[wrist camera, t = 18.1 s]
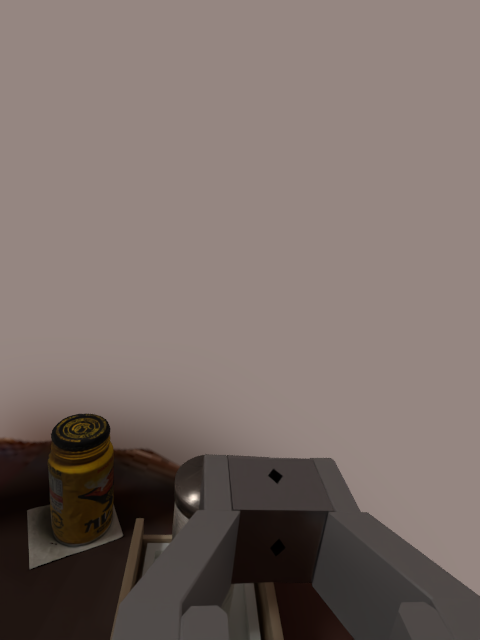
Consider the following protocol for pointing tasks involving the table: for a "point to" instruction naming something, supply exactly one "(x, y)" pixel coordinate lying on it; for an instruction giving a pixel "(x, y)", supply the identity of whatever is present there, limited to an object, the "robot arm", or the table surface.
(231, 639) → the tray
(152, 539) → the housing
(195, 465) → the canister
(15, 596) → the table surface
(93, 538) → the condiment
